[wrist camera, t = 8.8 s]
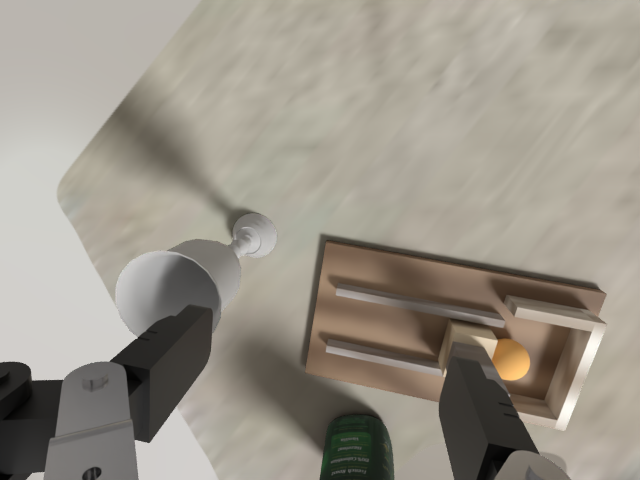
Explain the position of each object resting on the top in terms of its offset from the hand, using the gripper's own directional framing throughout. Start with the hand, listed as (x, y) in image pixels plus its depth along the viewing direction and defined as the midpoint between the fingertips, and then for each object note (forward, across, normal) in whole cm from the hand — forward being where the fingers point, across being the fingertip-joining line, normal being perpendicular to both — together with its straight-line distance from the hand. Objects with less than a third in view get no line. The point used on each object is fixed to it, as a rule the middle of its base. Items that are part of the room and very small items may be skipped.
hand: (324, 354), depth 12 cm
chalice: (+28, +11, +5) cm, 30 cm away
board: (+27, -11, +12) cm, 32 cm away
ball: (+24, -17, +12) cm, 32 cm away
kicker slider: (+26, -13, +12) cm, 31 cm away
